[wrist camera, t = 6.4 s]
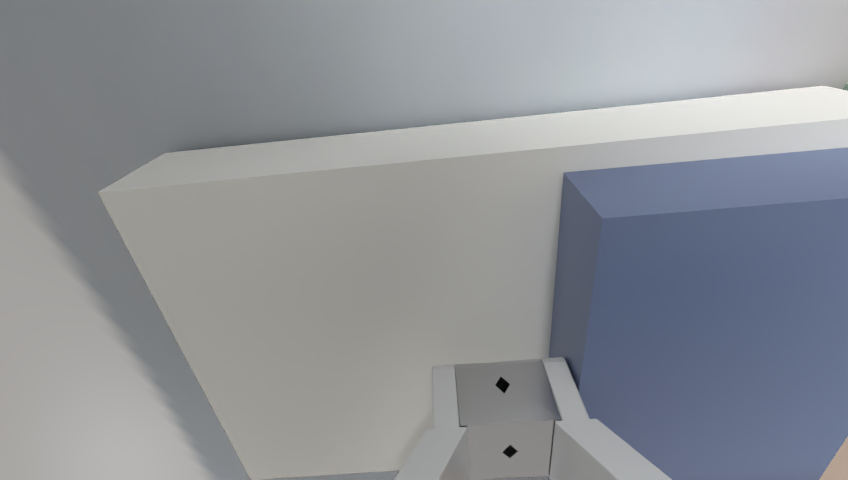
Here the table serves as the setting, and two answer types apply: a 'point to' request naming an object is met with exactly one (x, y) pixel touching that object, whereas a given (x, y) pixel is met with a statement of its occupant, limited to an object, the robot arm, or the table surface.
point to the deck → (394, 258)
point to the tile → (710, 310)
